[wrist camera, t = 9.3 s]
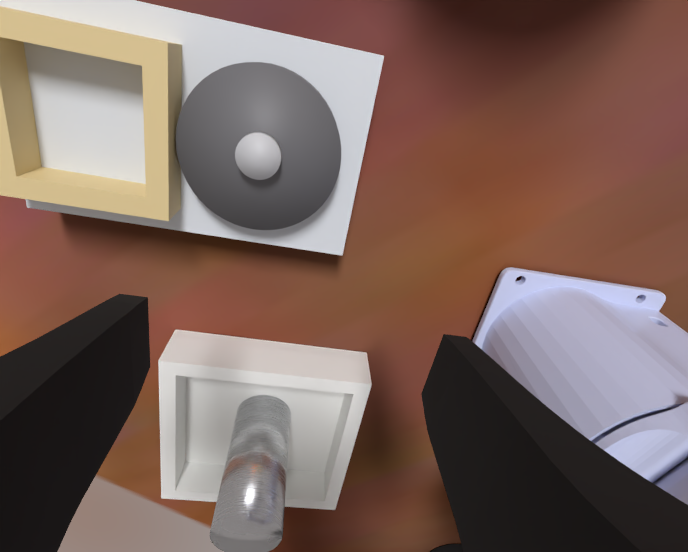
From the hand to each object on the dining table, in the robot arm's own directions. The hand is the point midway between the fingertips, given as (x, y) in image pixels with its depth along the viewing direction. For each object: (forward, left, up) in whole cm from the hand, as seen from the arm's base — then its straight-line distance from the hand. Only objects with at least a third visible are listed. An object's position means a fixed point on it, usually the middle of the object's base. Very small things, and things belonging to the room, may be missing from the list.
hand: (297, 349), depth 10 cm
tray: (+1, +13, -10) cm, 17 cm away
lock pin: (+1, +13, -10) cm, 16 cm away
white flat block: (+5, -3, -10) cm, 12 cm away
